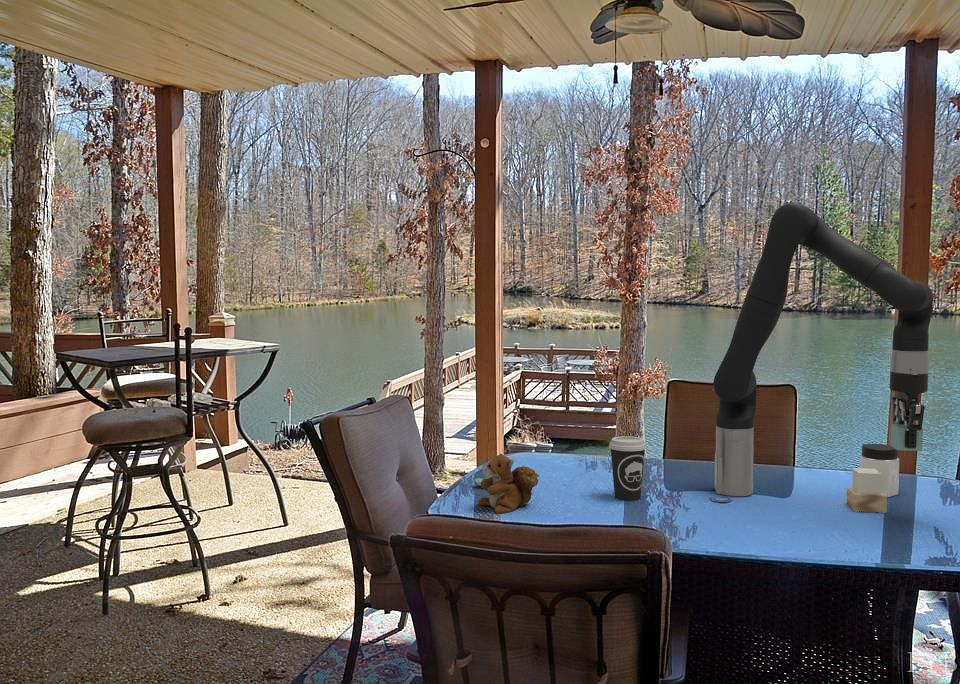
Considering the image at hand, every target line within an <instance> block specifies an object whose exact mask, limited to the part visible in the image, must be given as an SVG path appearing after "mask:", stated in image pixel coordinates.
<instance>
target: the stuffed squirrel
mask: <svg viewBox="0 0 960 684" xmlns="http://www.w3.org/2000/svg"><path fill="white" fill-rule="evenodd" d="M514 463H515V459H512V458H510V457H508V456H506V455H504V454H503V453H499V454H497V455H495V456H494V457H493V458H492V459H491V460H490V461H489V462H488V463H487V465H485V466H486V467H487V469H488V471H489V473H490V474H491V475H493V476H492V477H491V478H488V479H485V478H482V479H483V480H482V481H481V486H480V487H481V488H482V489H483V490H487V494H488V497H486V496H483V497H480V498H479V499H478V500H477V503H478V505H480V506H484V507H485V506H486V507H489V506H490V507H492V508H494V510H495V511H494V512H495V513H496V514H497V515H500V514H506V513H511V512H514V511H515V510H516V509H517V508H518V507H523V506H525V505H526V504H528V503H529V501H530V500H531V499H532V495H533V493H532V491H533V488H534V487H536V486H538V483H539V481H540V479H538V478H539V477H540V474H538V473H537V472H536V471H535V469H533V468H531V467H529V466H525V465H522V466H519V467H518V466H516V467H515V468H514V470H512V466H513V465H514ZM483 469H484V468H483ZM487 469H486V468H485V469H484V470H486V471H487ZM486 471H485V473H486ZM487 488H488V489H487Z"/></svg>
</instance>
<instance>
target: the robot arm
mask: <svg viewBox="0 0 960 684" xmlns="http://www.w3.org/2000/svg"><path fill="white" fill-rule="evenodd" d="M799 245H800V246H803V247H805V248H808V249H809V250H812V251H814V252H816V253H818V254H819V255H821V256H823V257H825V258H826V259H827V260H828V261H830V262H831V263H832V264H833V265H834V266H835V267H837V268H838V269H839V270H840V271H842V272H843V273H844V274H846V275H848V277H850V278H851V279H852V280H854V281H856V282H857V283H859V284H861V285H862V286H864V287H865V288H866V289H868V290H870V291H872V292H874V294H876V295H877V296H878V297H879V298H881V299H882V301H883V300H884V301H885V302H886V303H887V304H888V305H890V306H891V307H892V308H894V309H896V310H897V311H898V313H897V321H896V322H897V323H896V324H895V327H894V328H893V332H892V349H891V356H890V363H889V364H890V367H889V370H890V371H889V390H890V391H892V392H896V393H897V396H896V395H893V396H892V399H891V401H892V421H893V423H894V424H905V447H906V448H916V442H917V432H918V431H919V430H922V428H923V422H924V415H925V405H924V404H921V401H920V398H919V395H920V394H925V393H927V392H928V391H929V390H928V389H929V372H930V371H929V370H930V369H929V367H930V366H929V365H930V360H929V359H930V358H929V339H930V336H929V328H930V324H931V319H932V314H933V313H932V312H933V307H934V295H933V294H934V293H933V291H932V289H931V288H930V286H929V285H928V284H927V283H925V282H923V281H917V280H913V279H911V278H909V277H907V276H905V274H902V273H901V272H899V271H897V270H896V269H895V267H894V266H893V265H892V264H890V263H889V262H888V261H886V260H885V259H883V258H881V257H880V256H878V255H876V253H875V254H874V253H873V252H871V251H870V250H868V249H866V248H865V247H862V246H861V245H860V244H859V245H858V244H857V243H855V242H854V241H852V240H850V239H848V238H847V237H845V236H844V235H841V234H840V233H839V232H837V231H836V230H835V229H834V228H832V227H831V226H829V225H828V223H826V222H825V221H824V220H823V219H822V218H820V216H819V215H817V214H816V213H815V212H814V210H813V209H811V208H810V207H808V206H806V205H803V204H800V203H797V202H788V203H784V204H782V205H780V207H779V206H778V208H777V209H776V210H775V211H774V213H773V215H772V217H771V220H770V222H769V226H768V230H767V235H766V239H765V243H764V247H763V250H762V254H761V257H760V259H759V261H758V264H757V267H756V268H755V271H754V274H753V277H752V278H751V283H750V285H749V287H748V290H747V291H746V294H745V298H744V300H743V303H742V305H741V308H740V312H739V315H738V318H737V319H736V320H737V321H736V324H735V327H734V330H733V333H732V336H731V337H732V338H731V341H730V344H729V347H728V348H727V351H726V353H725V355H724V356H723V359H722V361H721V363H720V365H719V367H718V369H717V371H716V373H715V375H714V378H713V390H714V393H715V394H716V395H717V397H718V398H719V407H718V411H717V413H716V417H715V452H714V491H715V494H716V495H723V496H728V497H747V496H751V495H753V494H754V439H755V438H754V433H755V432H754V429H755V426H754V424H755V418H756V412H757V392H758V391H757V389H758V386H757V385H758V384H757V378H756V375H755V372H754V370H755V369H754V368H755V365H756V362H757V359H758V357H759V354H760V352H761V350H762V349H763V347H764V346H765V344H766V342H767V341H768V339H769V338H770V337H771V335H772V333H773V331H774V329H775V328H776V325H777V323H778V321H779V319H780V316H781V314H782V311H783V309H784V306H785V303H786V299H787V295H788V290H789V289H788V288H789V281H790V280H789V277H790V268H791V265H792V260H793V258H794V257H795V253H796V251H797V249H798V247H799Z"/></svg>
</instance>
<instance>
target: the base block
mask: <svg viewBox="0 0 960 684" xmlns="http://www.w3.org/2000/svg"><path fill="white" fill-rule="evenodd" d="M845 498H846V505H847V506H848V507H849V508H850V509H851V510H852V511H853V512H855V513H875V512H879V513H881V514H887V513H888V512H887V511H888V510H887V509H888V508H887V507H888V505H887V504H888V502H887V501H888V497H887V496H886V495H885V494H884V493H883V492H881V495H872V494H858V493H857V492H855V491H854V490H853V489H852V486H851V487H849V486H848V487H847V486H846V497H845ZM859 511H860V512H859ZM861 511H862V512H861ZM863 511H864V512H863ZM879 513H878V514H879Z"/></svg>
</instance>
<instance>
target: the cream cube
mask: <svg viewBox="0 0 960 684" xmlns="http://www.w3.org/2000/svg"><path fill="white" fill-rule="evenodd" d="M881 478H882V474H881V473H880V472H878V471H877V470H876V469H861V468H860V467H858V468H856V467H853V468H852V485H851V488H852V489H853V490H854V491H855V492H857V493H858V494H872V495H881Z"/></svg>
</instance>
